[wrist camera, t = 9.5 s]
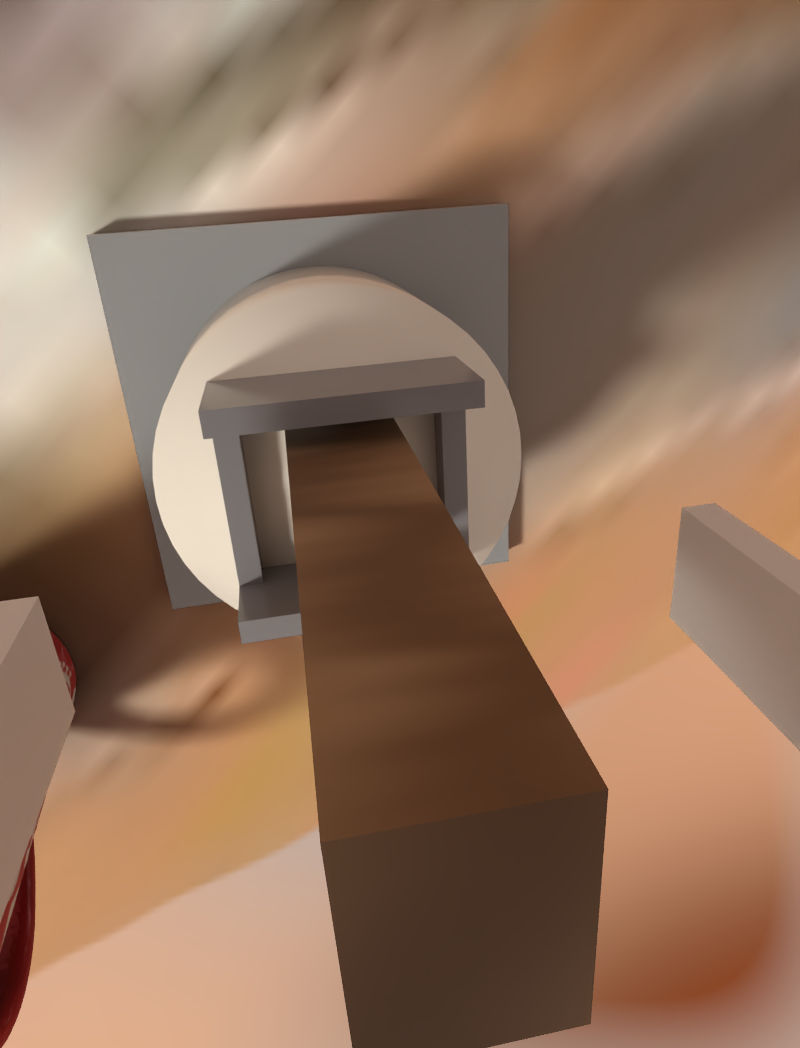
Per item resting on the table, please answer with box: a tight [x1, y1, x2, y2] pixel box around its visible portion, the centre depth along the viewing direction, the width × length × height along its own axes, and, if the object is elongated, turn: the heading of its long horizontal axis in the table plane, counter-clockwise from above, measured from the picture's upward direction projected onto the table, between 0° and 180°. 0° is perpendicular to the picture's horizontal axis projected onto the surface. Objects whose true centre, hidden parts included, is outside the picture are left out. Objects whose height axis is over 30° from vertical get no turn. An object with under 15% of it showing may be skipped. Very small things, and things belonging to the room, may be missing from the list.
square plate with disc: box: [87, 203, 522, 644], centre depth 23 cm, size 14×14×10 cm
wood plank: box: [285, 418, 608, 1048], centre depth 15 cm, size 3×4×15 cm
